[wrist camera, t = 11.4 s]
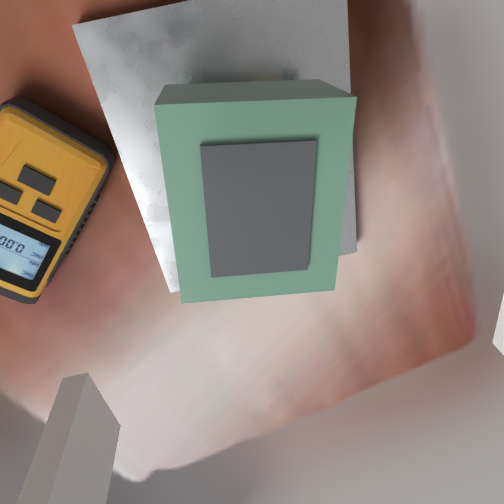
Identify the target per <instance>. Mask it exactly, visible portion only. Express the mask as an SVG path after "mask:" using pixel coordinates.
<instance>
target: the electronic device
mask: <svg viewBox="0 0 504 504" xmlns="http://www.w3.org/2000/svg"><path fill="white" fill-rule="evenodd" d="M114 163H115V156H114V153H113V150H112V149H111V148H110V147H109V146H107V145H106V144H104V143H102V142H101V141H99V140H97V139H95V138H94V137H92V136H90V135H88V134H87V133H85V132H83V131H82V130H80V129H78V128H76V127H75V126H73V125H71V124H69V123H68V122H66V121H64V120H63V119H61V118H59V117H57V116H56V115H54V114H52V113H50V112H49V111H47V110H45V109H44V108H42V107H40V106H38V105H37V104H35V103H33V102H31V101H30V100H27V99H24V98H20V97H18V98H13V99H10V100H7V101H5V102H3V103H2V104H1V105H0V295H2V296H5V297H8V298H10V299H13V300H16V301H18V302H21V303H25V304H35V303H36V302H37V301H38V299H39V297H40V295H41V294H42V292H43V290H44V288H45V286H46V284H47V282H50V281H51V279H52V278H53V276H54V274H55V272H56V270H57V269H58V267H59V265H60V263H61V261H62V259H63V258H64V257H67V255H68V253H69V251H70V249H71V248H72V246H73V244H74V242H75V240H76V239H77V237H78V235H79V233H80V231H81V229H82V228H83V226H84V224H85V222H86V220H87V218H88V217H89V215H90V213H91V211H92V209H93V207H94V206H95V204H96V202H97V200H98V198H99V197H100V196H99V194H98V193H99V192H100V190H101V188H102V186H103V184H104V182H105V181H106V179H107V177H108V175H109V173H110V171H111V170H112V168H113V166H114Z"/></svg>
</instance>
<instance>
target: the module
mask: <svg viewBox="0 0 504 504" xmlns="http://www.w3.org/2000/svg"><path fill="white" fill-rule="evenodd" d="M356 102H357V97H356V96H354V95H352V94H350V93H348V92H346V91H343V90H341V89H339V88H337V87H335V86H333V85H331V84H329V83H326V82H324V81H322V80H320V79H312V80H283V81H254V82H225V83H196V84H167V85H164V87H163V89H162V91H161V92H160V94H159V96H158V98H157V100H156V102H155V103H154V110H155V117H156V124H157V131H158V138H159V146H160V153H161V160H162V167H163V174H164V181H165V188H166V195H167V202H168V209H169V216H170V223H171V230H172V237H173V245H174V252H175V259H176V266H177V273H178V280H179V287H180V294H181V301H182V303H194V302H205V301H216V300H228V299H239V298H251V297H262V296H274V295H285V294H296V293H308V292H319V291H331V290H335V282H336V273H337V264H338V256H339V247H340V239H341V230H342V222H343V213H344V205H345V196H346V188H347V179H348V171H349V162H350V153H351V145H352V136H353V128H354V119H355V111H356Z"/></svg>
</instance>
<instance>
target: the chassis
mask: <svg viewBox="0 0 504 504" xmlns="http://www.w3.org/2000/svg"><path fill="white" fill-rule="evenodd" d="M72 28H73V30H74V33H75V36H76V38H77V41H78V44H79V47H80V49H81V52H82V55H83V57H84V60H85V63H86V66H87V68H88V71H89V74H90V76H91V79H92V82H93V84H94V87H95V90H96V93H97V95H98V98H99V101H100V103H101V106H102V109H103V111H104V114H105V117H106V120H107V122H108V125H109V128H110V130H111V133H112V136H113V138H114V141H115V144H116V147H117V149H118V152H119V155H120V157H121V160H122V163H123V165H124V168H125V171H126V174H127V176H128V179H129V182H130V184H131V187H132V190H133V193H134V195H135V198H136V201H137V203H138V206H139V209H140V211H141V214H142V217H143V220H144V222H145V225H146V228H147V230H148V233H149V236H150V238H151V241H152V244H153V247H154V249H155V252H156V255H157V257H158V260H159V263H160V265H161V268H162V271H163V274H164V276H165V279H166V282H167V284H168V287H169V290H170V292H176V291H180V287H179V280H178V273H177V266H176V259H175V252H174V245H173V237H172V230H171V223H170V216H169V209H168V202H167V195H166V188H165V181H164V174H163V167H162V160H161V153H160V146H159V138H158V131H157V124H156V117H155V110H154V103H155V102H156V100H157V98H158V96H159V94H160V92H161V91H162V89H163V87H164V85H167V84H196V83H225V82H254V81H283V80H312V79H320V80H322V81H324V82H326V83H329V84H331V85H333V86H335V87H337V88H339V89H341V90H343V91H346V92H348V93H350V94H351V84H350V59H349V33H348V8H347V0H189V1H184V2H179V3H174V4H170V5H165V6H160V7H156V8H151V9H146V10H141V11H137V12H132V13H127V14H122V15H118V16H113V17H108V18H103V19H99V20H94V21H89V22H84V23H80V24H75V25H72ZM355 252H357V238H356V213H355V187H354V161H353V136H352V145H351V153H350V162H349V171H348V179H347V188H346V196H345V205H344V213H343V222H342V230H341V239H340V247H339V256H341V255H346V254H350V253H355Z"/></svg>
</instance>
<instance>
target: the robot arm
mask: <svg viewBox="0 0 504 504" xmlns="http://www.w3.org/2000/svg"><path fill="white" fill-rule="evenodd" d="M493 344H494V345H495V346H496V347H497V348H498V349H499V351H500V352H501V353H502V354H503V355H504V295H503V299H502V304H501V308H500V312H499V317H498V321H497V325H496V330H495V334H494V338H493ZM119 430H120V424H119V423H118V421H117V419H116V418H115V416H114V415H113V413H112V411H111V410H110V408H109V406H108V405H107V403H106V402H105V400H104V398H103V397H102V395H101V393H100V392H99V390H98V389H97V387H96V385H95V384H94V382H93V380H92V379H91V377H90V375H89V374H88V373H84V374H79V375H75V376H70V377H66V378H63V380H62V382H61V385H60V388H59V390H58V393H57V396H56V399H55V401H54V404H53V407H52V409H51V412H50V415H49V418H48V420H47V423H46V426H45V428H44V431H43V434H42V437H41V439H40V442H39V445H38V447H37V450H36V453H35V456H34V458H33V461H32V464H31V467H30V469H29V472H28V475H27V477H26V480H25V483H24V485H23V488H22V491H21V494H20V497H19V499H18V502H17V504H106V500H107V495H108V489H109V484H110V479H111V473H112V468H113V463H114V457H115V452H116V446H117V441H118V436H119Z"/></svg>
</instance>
